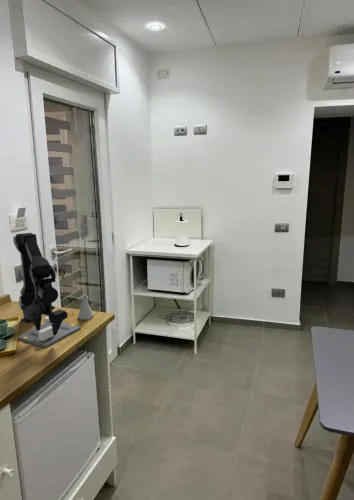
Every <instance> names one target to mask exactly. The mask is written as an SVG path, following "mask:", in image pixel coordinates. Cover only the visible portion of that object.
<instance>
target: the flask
mask: <svg viewBox="0 0 354 500" xmlns="http://www.w3.org/2000/svg"><path fill="white" fill-rule="evenodd" d="M88 298H89V296H88V295H81V296H80V299H81V302H80V303H81V304H80V309H79V312H78V315H77V319H78V320H81V321H86V320H90V319H92V318H94V313H93V310H92V309H91V307H90V304H89V301H88Z"/></svg>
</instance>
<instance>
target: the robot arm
mask: <svg viewBox="0 0 354 500" xmlns="http://www.w3.org/2000/svg"><path fill="white" fill-rule="evenodd" d="M12 238H13V239H12V240H13V244H14V246H15V249H16V250H17V252H19V255H20V262H21V271H22V281H23V282H22V283H23V285H22V287H21V290H20V296H19V297H18V298H19V299H18V306H19V308H20V310H22V315H23V317H22V318H20V321H24V322H26V323H30V324H31V323H33V325H34V328H36V329H37V331H39V330H40V327H41V325H42V316H43V315H44V316H46V317H49V320H50V321H49V323H51V324H52V330H53V335H54V336H55V335H57V332H58V330H59V327H60V325H61V323H62V322H64V321H65V320H66V319H68V311H66V310H62V309H57V310H55V309H56V308H55V307H56V306H54V305H53V303H55V302H56V301H57V300H58V298H59V292H58V290H57V288H55V287H54V286H53V285H52V284H53V283H56V279H57V276H56V274H55V270H54V267H53V266H52V265H50V262H49V260H48V259H46V258H45V257H44V256H43V254H42V252H41V250H40V248H39V244H38V237H37V234H35V233H32V232H24V233H15V236H13V237H12ZM53 310H55V311H53Z"/></svg>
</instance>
